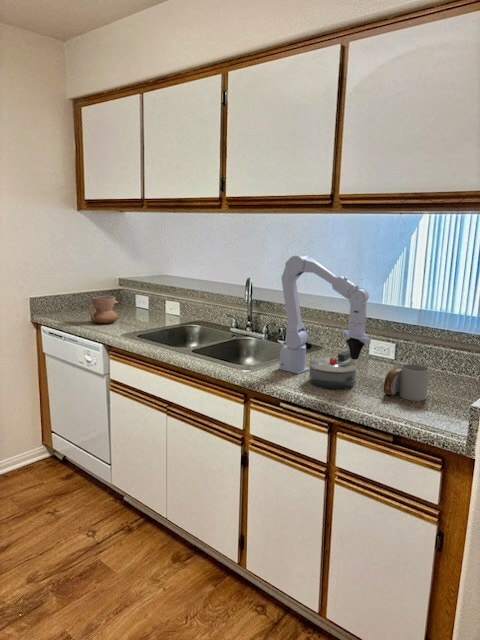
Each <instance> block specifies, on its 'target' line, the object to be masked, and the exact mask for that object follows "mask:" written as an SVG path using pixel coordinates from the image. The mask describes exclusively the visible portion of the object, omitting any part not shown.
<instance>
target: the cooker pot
mask: <svg viewBox="0 0 480 640" xmlns="http://www.w3.org/2000/svg"><path fill="white" fill-rule="evenodd" d="M350 361H352V359H351V360H350ZM356 370H357V369H356ZM356 370H355V371H353V372H349V373H329V372H323V371H319V370H316V369H313V368H312V367H310V366H309V376H308V377H309V380H308V381H309V382H308V383H310V384H311V385H312V386H314V387H317V388H319V389H323V390H329V391H344V390H345V391H346V390H349V389H353V388H354V387H355V382H356V372H357V371H356Z"/></svg>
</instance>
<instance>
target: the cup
mask: <svg viewBox="0 0 480 640" xmlns="http://www.w3.org/2000/svg"><path fill="white" fill-rule="evenodd" d="M401 367H402V372H401V383H400V392H399V397H400V398H402V399H405V400H409V401H412V402H413V401H415V402H422V401H425V400H426V399H427V394H428V393H427V392H428V382H429V375H430V374H429V373H430V368H429V367H428V366H425V365H421V364H418V363H417V364H415V363H405V364H403V365H402V366H401Z"/></svg>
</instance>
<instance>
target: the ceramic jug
mask: <svg viewBox="0 0 480 640" xmlns="http://www.w3.org/2000/svg"><path fill="white" fill-rule="evenodd" d="M91 302H92V304H90V305H89V306H88V312H89V315H90V320H91V322H93V323H95V324H99V325H100V324H101V325H109V324H113V323H115V322H117V321H118V319H119V315H118V313H117V312H115V311H113V308H114V307H115V304H118V303H119V301H117V300H116V296H113V295H99V296H94V297H91ZM93 308H94V309H95V310H96V311H94V313H93Z"/></svg>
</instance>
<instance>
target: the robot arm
mask: <svg viewBox="0 0 480 640" xmlns="http://www.w3.org/2000/svg"><path fill="white" fill-rule="evenodd" d="M284 265H285V267H284V270H283V272H282V275H281V284H282V285H281V286H282V291H283V298H284V305H285V312H286V319H287V325H286V326H287V327H286V329H285V332H286V333H285V334H286V336H285V339H284V340H285V341H284V342H285V345H283V346H282V347H281V349H280V352H279V366H278V367H277V368H278V370H282V371H286V372H290V373H294V374H298V375H300V374H302V373H304V372H307V371H310V367H306V358H307V357H306V356H307V345H306V343H307V342H308V341H309V339H310V337H309V336H310V335H309V333H308V331H307V330H306V326H305V323H304V322H303V321H302V320H303V319H302V314H301V307H300V300H299V295H298V294H299V293H298V286H297V285H298V284H297V280H299V278H300V277H301V275H303V274H304V273H312V274H315V275H316V276H318V277H320V278H321V279H323V280H324V281H326V282H328V284H331V287H332V290H333V291H335V292H336V293H337V294H339V295H341V296H342V297H343V298H345V299H347V300H348V302H349V303H350V305H349V307H350V308H349V315H348V316H349V319H348V329H344V330H342V336H343V337H344V336H345V337H348V339H345V341H346V344H347V346H348V349H349V351H350V354H351V358H350V359H351V360H352V361H353V360H359V357H360V354H361V352H362V349H363V348H364V347H365V345H370V344H371V337H368V336H367V335H368V334H367V333H365V331H366V318H367V302H368V300H369V297H370V296H369V293H368V291H367V290H366V289H365V288H363V287H360V285H359V284H355V283H353V282H352V281H350V280H349V278H348V277H347V276H343V275H341V276H340V275H339V276H337V275H335V274H334V273H333V272H331V271H330V270H328V269H327V268H326V267H325V266H323V265H322V264H321V263H319V262H318V261H317V260H315V259H314V258H312V257H310V256H309V255H307V254H300V255H292V256H291V257H290V258H289V259H287V260H286V262H285V263H284Z"/></svg>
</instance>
